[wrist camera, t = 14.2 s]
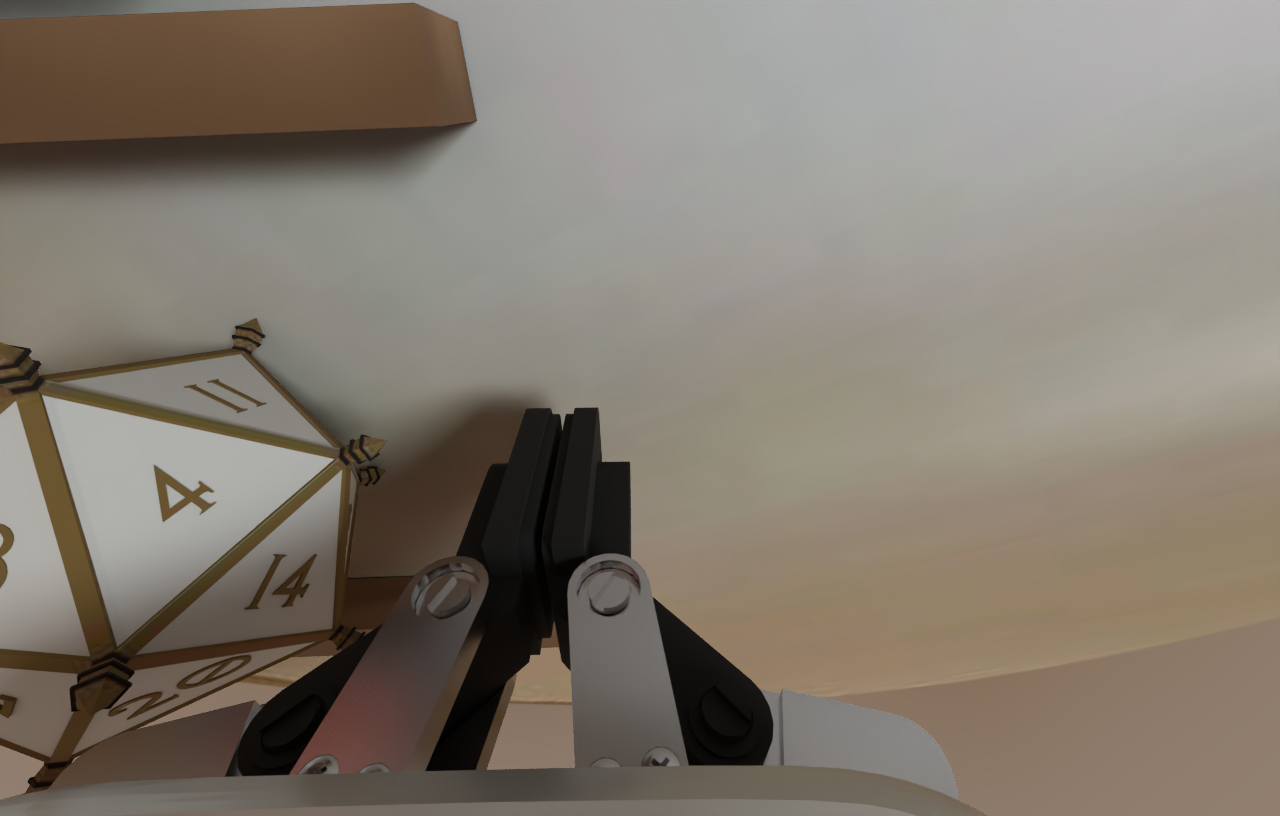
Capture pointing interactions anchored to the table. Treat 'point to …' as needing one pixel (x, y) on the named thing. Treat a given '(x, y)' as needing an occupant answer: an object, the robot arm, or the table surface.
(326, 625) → the game die
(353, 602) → the frame
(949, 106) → the table surface
